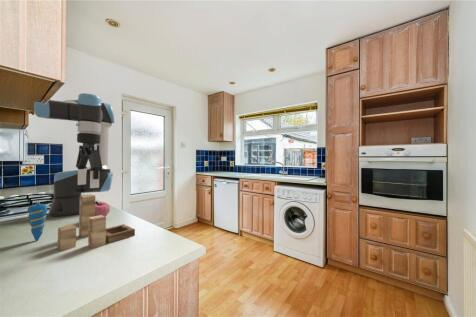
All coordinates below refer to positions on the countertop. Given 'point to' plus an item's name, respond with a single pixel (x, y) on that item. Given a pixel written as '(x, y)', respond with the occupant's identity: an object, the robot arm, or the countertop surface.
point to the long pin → (86, 213)
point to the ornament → (37, 219)
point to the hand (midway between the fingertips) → (87, 186)
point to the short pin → (66, 237)
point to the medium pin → (97, 231)
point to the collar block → (119, 233)
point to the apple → (101, 208)
